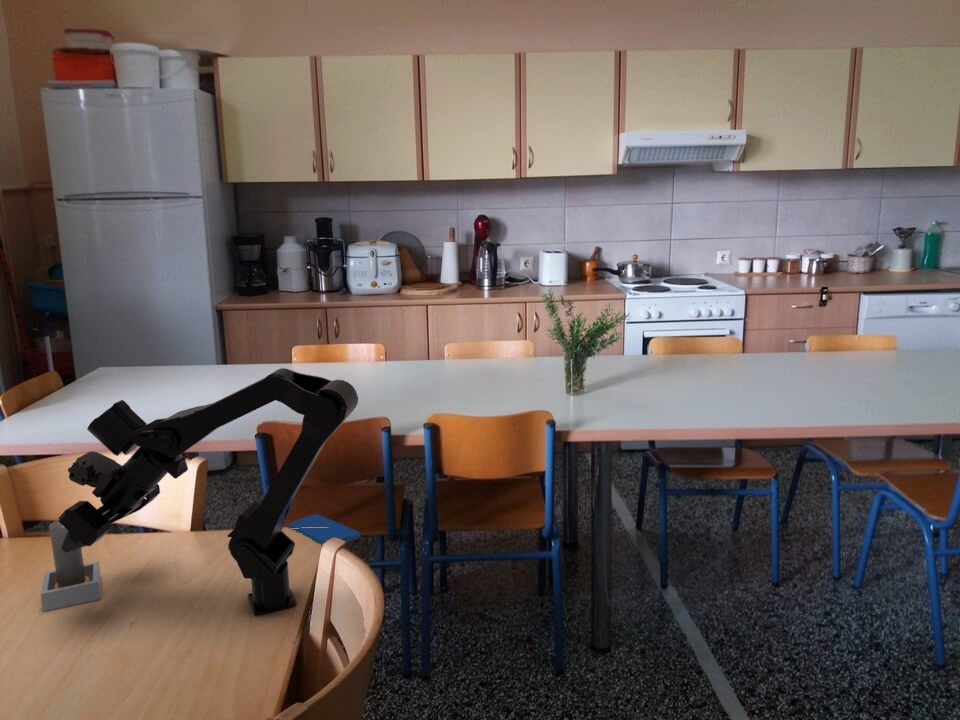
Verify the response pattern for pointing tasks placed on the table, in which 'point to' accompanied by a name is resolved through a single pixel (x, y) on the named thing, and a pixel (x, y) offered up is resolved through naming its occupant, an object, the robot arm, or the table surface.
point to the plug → (66, 559)
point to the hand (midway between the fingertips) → (82, 537)
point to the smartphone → (323, 529)
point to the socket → (71, 589)
